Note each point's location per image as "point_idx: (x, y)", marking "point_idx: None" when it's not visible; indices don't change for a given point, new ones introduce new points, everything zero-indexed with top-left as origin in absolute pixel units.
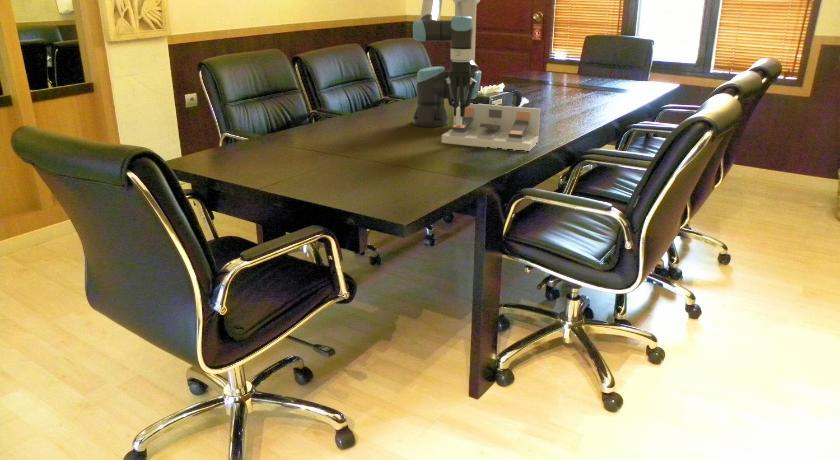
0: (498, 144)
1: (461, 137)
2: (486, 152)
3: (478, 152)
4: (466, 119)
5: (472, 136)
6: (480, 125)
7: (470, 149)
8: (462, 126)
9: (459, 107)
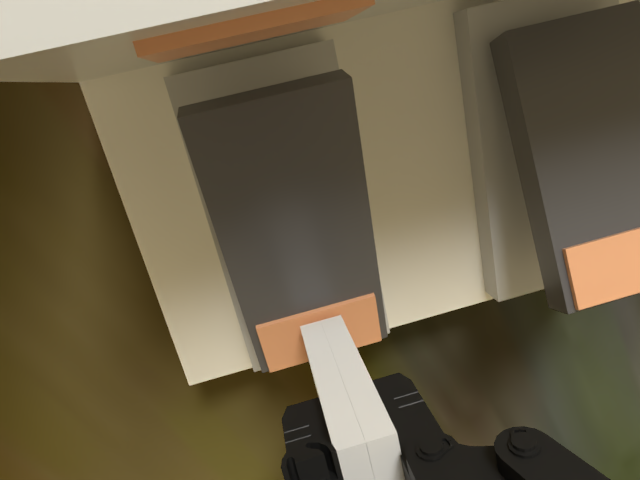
0: None
1: None
2: (565, 351)
3: (524, 380)
4: (305, 164)
5: (427, 268)
6: (560, 310)
7: (453, 358)
8: (357, 327)
9: (366, 472)
